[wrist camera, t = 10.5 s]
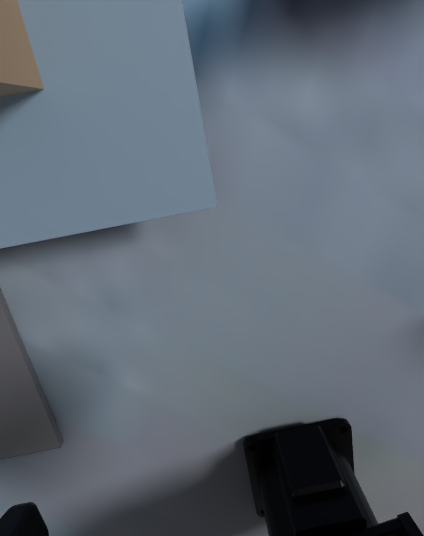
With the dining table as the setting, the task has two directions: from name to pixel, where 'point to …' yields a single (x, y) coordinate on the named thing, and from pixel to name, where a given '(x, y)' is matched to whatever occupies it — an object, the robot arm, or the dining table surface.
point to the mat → (21, 397)
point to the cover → (97, 117)
